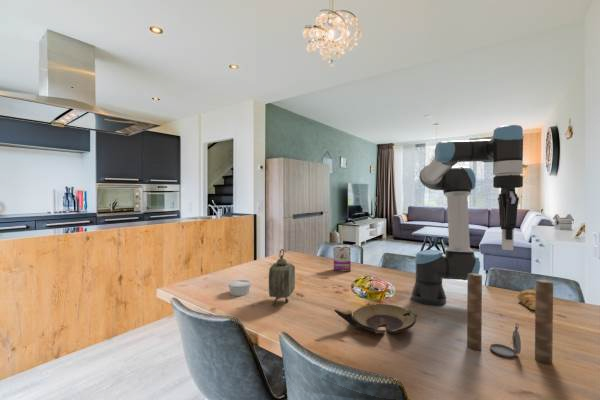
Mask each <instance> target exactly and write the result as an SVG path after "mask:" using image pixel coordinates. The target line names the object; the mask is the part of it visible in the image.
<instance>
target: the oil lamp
mask: <svg viewBox="0 0 600 400" xmlns="http://www.w3.org/2000/svg"><path fill="white" fill-rule="evenodd" d="M334 312H335V313H336V314H337V315H338V316H339V317H340V318H342V319H343V320H344V321H346V322H347V323H348V324H349V325H351V326H353V327H360V328H363V329H364V330H366V331H367V330H368V331H371V332H374V333H379V334H385V333H386V332H388V333H389V334H390V333H391V334H395V333H396V334H397V333H401V332H404V331H407V330H409V329H411V328H412V327H413V326H414V325H415V324H416V322H417V317H418V314H415V313H414V312H413V311H412V310H410V309H406V308H404V307H401V306H398V305H393V304H387V303H385V304H384V303H376V304H374V303H373V304H368V305H364V306H361V307H359V308H357V309H355V311H353V312H352V310H351V309H349V310H345V311H342V310H339V309H334ZM385 326H386V327H385ZM379 327H385V329H386V330H385V329H378V328H379Z"/></svg>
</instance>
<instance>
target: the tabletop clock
mask: <svg viewBox="0 0 600 400" xmlns="http://www.w3.org/2000/svg"><path fill="white" fill-rule="evenodd" d="M278 255H279V256H278V257H279V259H277V260H276V262H273V264H272V265H270V267H269V270H268V295H269V297H270V298H275V299H274V301H273V302H272V303H271V306H273V307H274V306H276V302H277V300H278V299H279V298H282V299H285V300H284V302H285V303H288V302H289V299H288V297H290V296H292V294H293V293H294V292H295V291H294V290H295V287H296V284H295V283H296V272H295V271H296V267H295V266H296V265H295V264H292V263H291V262H288V261H287V260H286V259H285V258H284V256H285V250H284V248H281V249H280V251H279V253H278Z"/></svg>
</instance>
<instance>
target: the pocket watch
mask: <svg viewBox="0 0 600 400" xmlns="http://www.w3.org/2000/svg"><path fill="white" fill-rule="evenodd" d="M519 325H520V324H518V323H516V324H515V326H514V330H513V332H512V335H511V336H512V347H513V348H512V347H510V346H507V345H505V344H501V343H492V344H490V345H489V349H490V350H491V351H492V352H493V353H494V354H497V355H499V356H502V357H505V358H513V357H515V356H516V355H517V354H518V355H519V354H521V351H522V349H521V348H522V342H521V336H520V335H521V334H520V332H519V331H518V329H519V327H520V326H519Z"/></svg>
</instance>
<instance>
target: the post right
mask: <svg viewBox="0 0 600 400" xmlns="http://www.w3.org/2000/svg"><path fill="white" fill-rule="evenodd" d="M535 290H536V294H535V310H534V311H535V313H534V317H535V318H534V359H535V360H536V361H537V362H539V363H541V364H544V365H553V342H554V340H553V339H554V338H553V332H554V329H553V328H554V325H553V324H554V282H552V281H549V280H545V279H535Z"/></svg>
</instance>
